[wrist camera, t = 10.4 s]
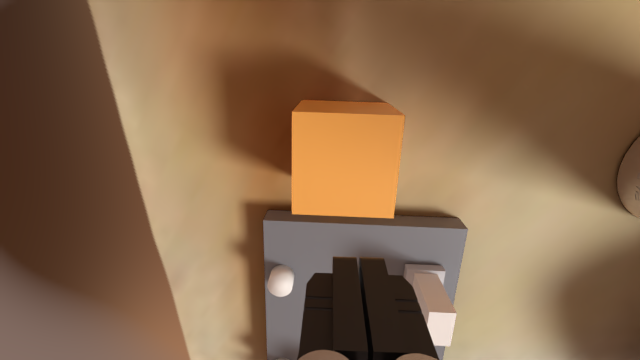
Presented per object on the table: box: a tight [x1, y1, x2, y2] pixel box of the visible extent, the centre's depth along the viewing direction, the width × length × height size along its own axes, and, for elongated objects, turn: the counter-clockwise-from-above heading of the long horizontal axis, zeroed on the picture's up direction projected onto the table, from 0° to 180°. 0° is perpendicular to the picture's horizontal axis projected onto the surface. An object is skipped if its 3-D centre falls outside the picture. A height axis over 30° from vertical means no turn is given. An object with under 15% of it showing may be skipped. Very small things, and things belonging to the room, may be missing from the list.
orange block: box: [292, 100, 405, 219], centre depth 23 cm, size 6×6×7 cm
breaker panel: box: [263, 210, 468, 360], centre depth 30 cm, size 16×20×4 cm
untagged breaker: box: [404, 264, 457, 346], centre depth 25 cm, size 3×3×5 cm
